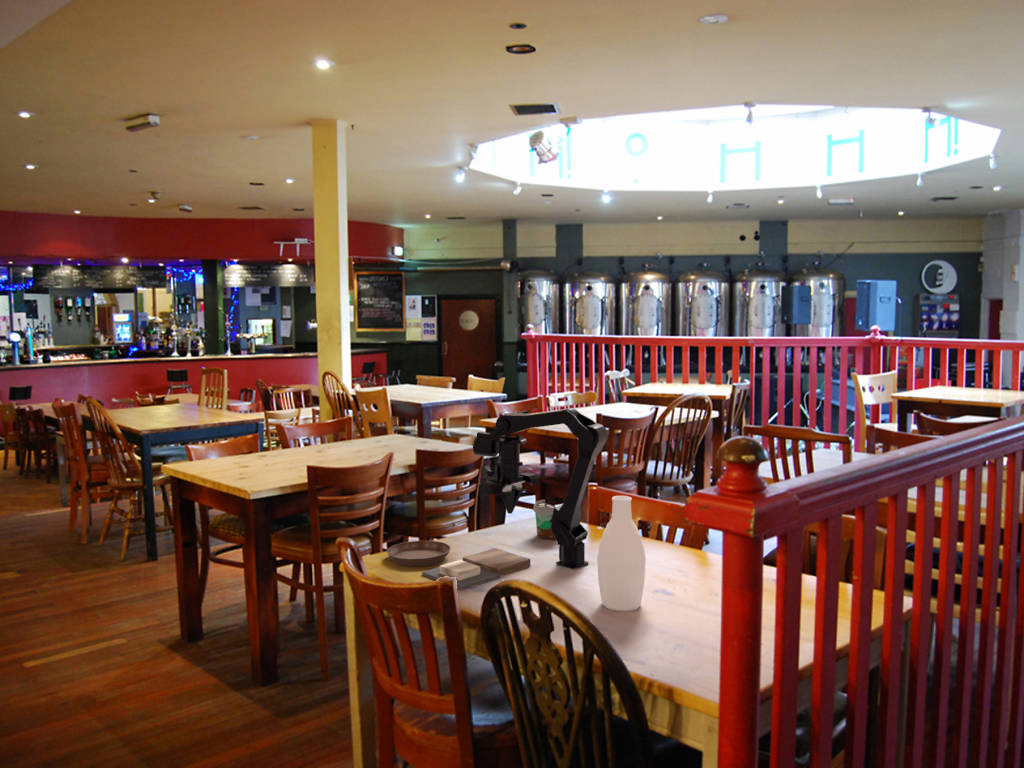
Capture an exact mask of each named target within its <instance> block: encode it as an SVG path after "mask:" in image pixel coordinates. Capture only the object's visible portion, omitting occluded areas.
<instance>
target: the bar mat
mask: <svg viewBox="0 0 1024 768" xmlns="http://www.w3.org/2000/svg"><path fill="white" fill-rule="evenodd" d="M421 573H422V576H424V577H426V578H429V579H431V580H434V581H437V580H436V579H438V578H440V577H444V576H446V575H443V574H440V566H438V567H434V568H432V569H428V570H425V571H424V570H423V571H421ZM500 578H501V576H500V574H497V573H494V572H491V571H488V570H485V569H483V568H480V574H479V575H476V576H473V577H470V578H466V579H463V580H460V581H459V580H457V587H458V588H457V589H458V590H460V591H463V590H466V589H468V588H473V587H475V585H476V586H478V585H481V584H484V583H488V582H490V581H494V580H497V579H500ZM472 586H473V587H472ZM465 588H466V589H465Z"/></svg>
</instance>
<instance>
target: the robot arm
mask: <svg viewBox="0 0 1024 768" xmlns="http://www.w3.org/2000/svg"><path fill="white" fill-rule="evenodd" d="M556 425H565V426H566V427H567V428H568V429H569V432H571V434H572V435H573V436H574V437H576V439H577V445H576V446H577V455H578V456H577V459H576V462H575V466H574V469H573V472H572V476H571V478H570V482H569V485H568V488H567V492H566V495H565V499H564V501H563V503H562V504H560V505H557V506H555V507H556V508H554V510H553V516H552V519H551V520H550V521H549V522H552V523H551V530H552V532H553V534H554V535H555V537H556V540H555V541H557V545H558V561H556V562H555V564H556V565H558V566H561V567H564V568H567V569H571V570H575V569H578V568H581V567H584V566H587V565H589V561H586V560H585V559H586V558H585V557H586V556H585V553H586V552H585V551H586V550H585V549H586V548H585V542H583V541H585V540H586V539H587V537H588V535H589V532H588V530H587V529H586V528H585V527H584V526H583V525H582V523H581V517H582V511H581V505H582V501H583V499H584V495H585V492H586V489H587V485H588V483H589V480H590V475H591V473H592V470H593V467H594V463H595V460H596V458H597V456H598V455H599V454H600V452H601V451H602V450H603V447H604V446H605V444H606V442H607V441H608V438H609V432H608V430H607V428H606V427H605V425H603V424H601V423H597V422H596V421H594V420H593V419H591V418H590V417H588V416H586V415H584V414H582V413H581V412H580V411H578V410H577V409H576V408H574V407H570V408H569V407H568V408H565V409H559V410H554V411H553V410H552V411H546V412H538V413H532V414H531V413H524V412H509V413H506V414H502V415H499V416H498V417H497V419H496V420H495V426H494V427H493V429H492V430H491V431H490V432H485V431H479V432H478V431H477V432H476V437H475V438H474V441H473V444H472V452H473V454H474V455H475V456H478V457H491V458H495V457H497V456H498V457H499V458H498V459H499V461H495V466H494V467H490V466H489V465H486V466H485V465H484V466H481V467H480V477H481V478H482V479H486V480H482V481H479V483H478V493H484V494H488V495H500V497H501V499H502V501H503V504H504V507H505V510H506V511H507V514H510V515H511V514H513V512H514V510H515V509H516V505H517V504H518V501H519V499H520V498H521V496H522V495H523V493H524V491H526V488H525V487H523V485H522V484H527V483H529V485H531V486H538V485H540V477H539V475H538V474H537V473H533V472H527V471H526V472H521V470H520V469H521V468H520V467H522V466H524V462H523V461H520V460H521V459H520V458H521V457H520V456H521V455H520V449H521V448H520V445H522V444H526V443H527V442H528V441H527V439H526V438H524V436H523V435H522V434H521V433H520V434H517V435H516V436H511V435H513V434H516V433H519V432H522V431H525V430H529V429H534V428H540V427H541V428H542V427H549V426H556ZM502 437H505V438H502Z"/></svg>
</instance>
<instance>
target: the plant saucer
mask: <svg viewBox="0 0 1024 768" xmlns="http://www.w3.org/2000/svg"><path fill="white" fill-rule="evenodd" d="M451 549H452V548H451V546H450V544H447V543H446V542H441V541H438V540H437V541H436V540H412V541H406V542H401V543H398V544H393V545H392V546H390V547H389V548H387V550H386V554H387V555H388V557H389V558H390V559H391V560H392V561H393V562H394V563H395V564H397V565H400V566H404V567H423V566H424V567H425V566H431V565H436V564H438V563H440V562H442V561H444V560H445V559H446V557H447V556H448V554H449V553H450V550H451Z"/></svg>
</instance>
